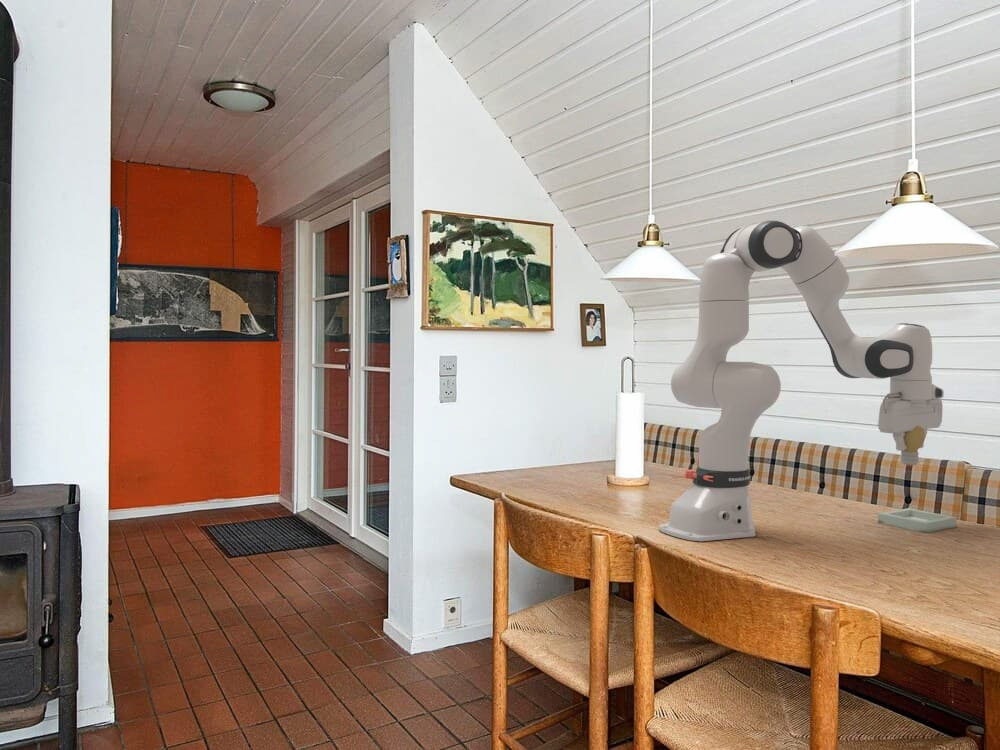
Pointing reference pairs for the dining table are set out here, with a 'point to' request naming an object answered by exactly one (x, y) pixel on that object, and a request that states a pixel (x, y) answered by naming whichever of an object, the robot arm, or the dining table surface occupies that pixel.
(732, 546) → the dining table surface
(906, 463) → the light bulb
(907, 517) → the tray
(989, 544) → the dining table surface
